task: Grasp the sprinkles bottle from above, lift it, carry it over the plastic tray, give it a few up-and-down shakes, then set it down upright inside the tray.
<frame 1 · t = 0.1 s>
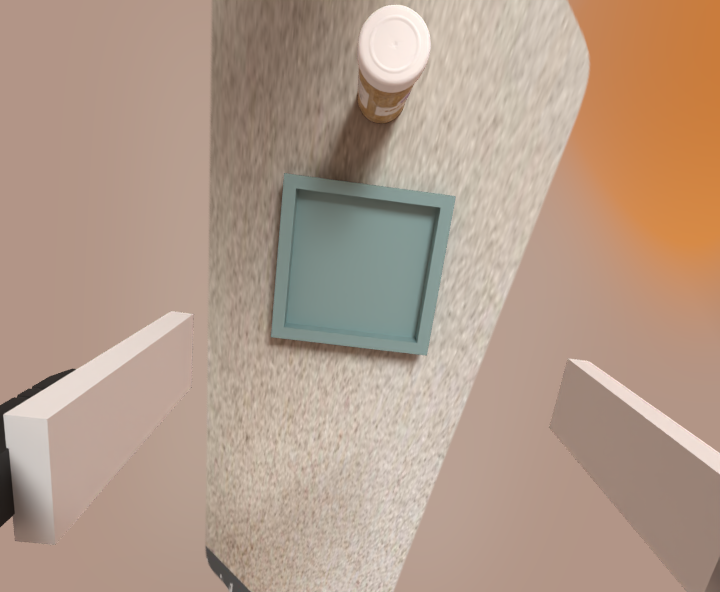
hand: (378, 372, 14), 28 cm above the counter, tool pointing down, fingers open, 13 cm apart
sprinkles bottle: (381, 98, 38), on the counter
tray: (359, 265, 41), on the counter
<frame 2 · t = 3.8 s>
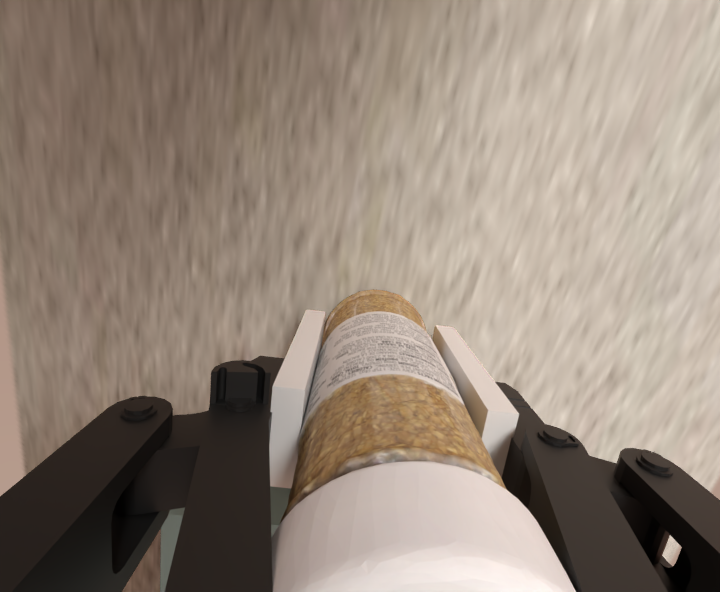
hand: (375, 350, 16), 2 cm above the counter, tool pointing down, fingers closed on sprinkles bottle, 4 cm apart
sprinkles bottle: (373, 334, 18), on the counter, touching gripper
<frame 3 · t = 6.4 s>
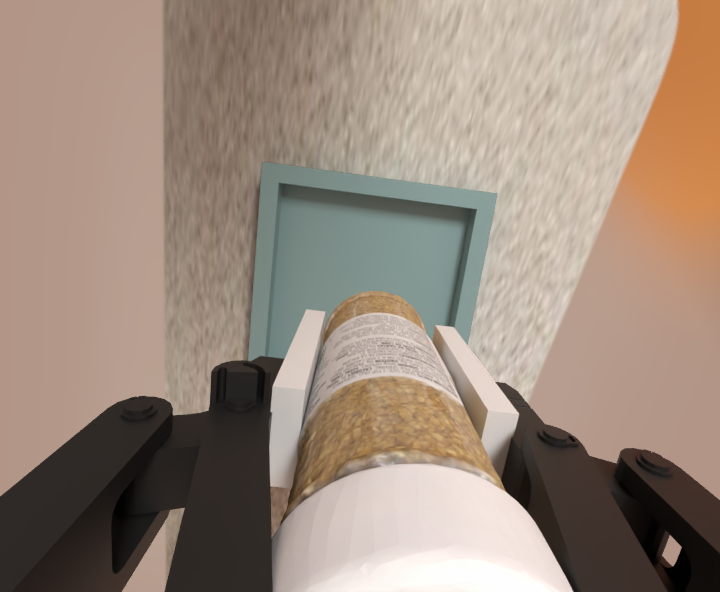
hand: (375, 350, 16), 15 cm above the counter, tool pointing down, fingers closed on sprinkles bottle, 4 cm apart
sprinkles bottle: (373, 335, 18), point 13 cm above the counter, touching gripper
tray: (364, 286, 31), on the counter
when the fingers open (4 cm above the counter, at t = 9.0 s): sprinkles bottle drops 1 cm, resting on tray.
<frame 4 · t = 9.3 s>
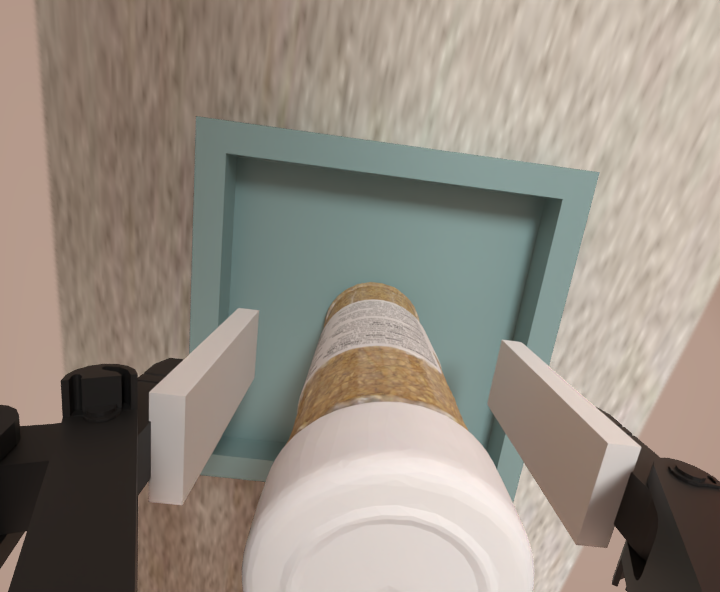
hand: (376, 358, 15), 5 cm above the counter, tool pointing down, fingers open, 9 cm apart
sprinkles bottle: (371, 324, 19), point 1 cm above the counter, touching tray
tray: (371, 319, 20), on the counter
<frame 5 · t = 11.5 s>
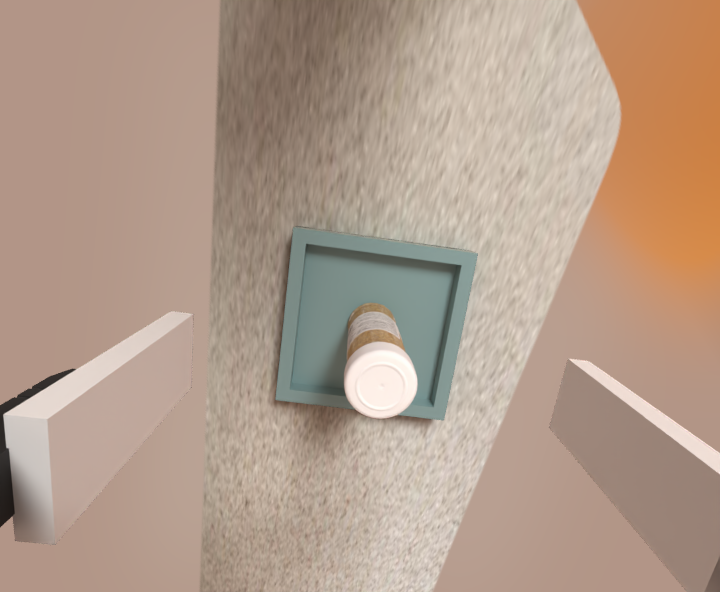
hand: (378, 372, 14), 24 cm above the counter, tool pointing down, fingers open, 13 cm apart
sprinkles bottle: (371, 323, 37), point 1 cm above the counter, touching tray
tray: (371, 321, 38), on the counter
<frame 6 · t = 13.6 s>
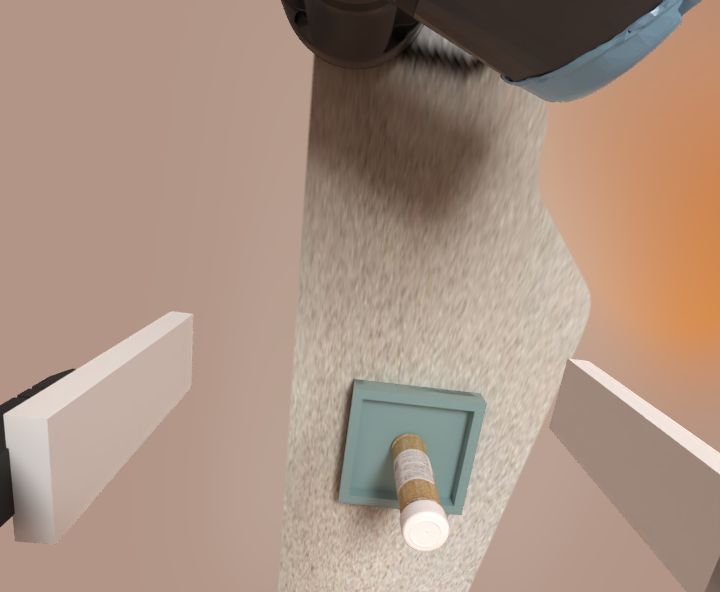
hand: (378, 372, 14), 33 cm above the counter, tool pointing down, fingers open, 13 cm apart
sprinkles bottle: (407, 446, 51), point 1 cm above the counter, touching tray
tray: (407, 442, 52), on the counter
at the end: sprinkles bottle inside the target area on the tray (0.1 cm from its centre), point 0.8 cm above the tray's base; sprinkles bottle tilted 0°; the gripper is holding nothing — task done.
